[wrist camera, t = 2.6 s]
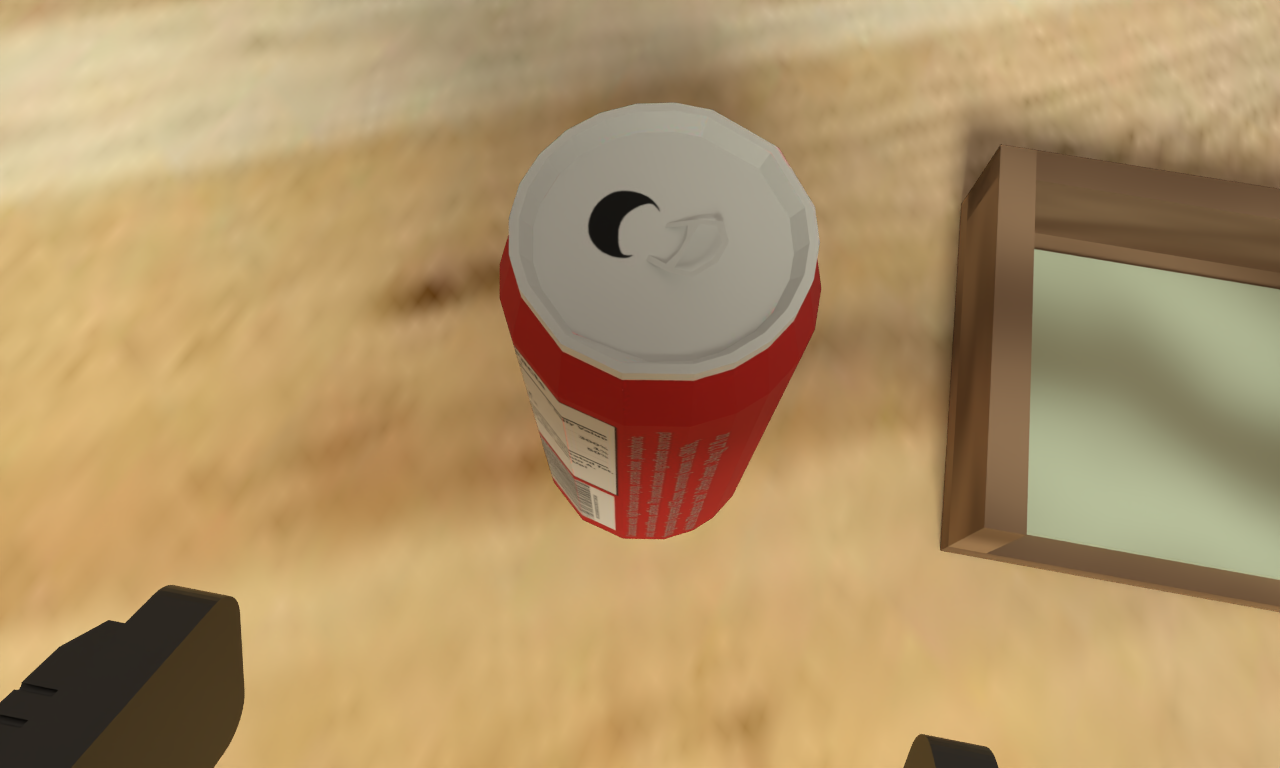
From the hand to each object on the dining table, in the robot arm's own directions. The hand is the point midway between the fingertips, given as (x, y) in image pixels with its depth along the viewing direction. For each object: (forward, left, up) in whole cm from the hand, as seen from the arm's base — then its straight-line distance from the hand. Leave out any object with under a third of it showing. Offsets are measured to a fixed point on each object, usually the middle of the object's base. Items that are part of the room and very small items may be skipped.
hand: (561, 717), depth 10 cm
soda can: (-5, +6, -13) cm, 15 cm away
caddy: (+3, +18, -13) cm, 22 cm away
